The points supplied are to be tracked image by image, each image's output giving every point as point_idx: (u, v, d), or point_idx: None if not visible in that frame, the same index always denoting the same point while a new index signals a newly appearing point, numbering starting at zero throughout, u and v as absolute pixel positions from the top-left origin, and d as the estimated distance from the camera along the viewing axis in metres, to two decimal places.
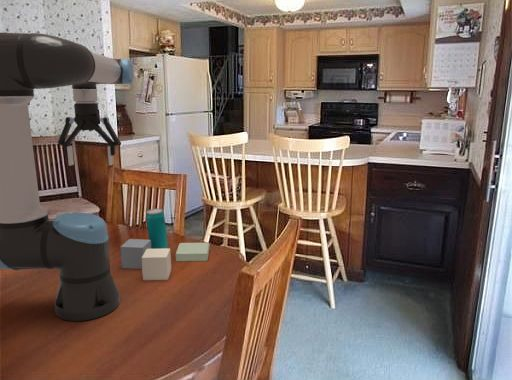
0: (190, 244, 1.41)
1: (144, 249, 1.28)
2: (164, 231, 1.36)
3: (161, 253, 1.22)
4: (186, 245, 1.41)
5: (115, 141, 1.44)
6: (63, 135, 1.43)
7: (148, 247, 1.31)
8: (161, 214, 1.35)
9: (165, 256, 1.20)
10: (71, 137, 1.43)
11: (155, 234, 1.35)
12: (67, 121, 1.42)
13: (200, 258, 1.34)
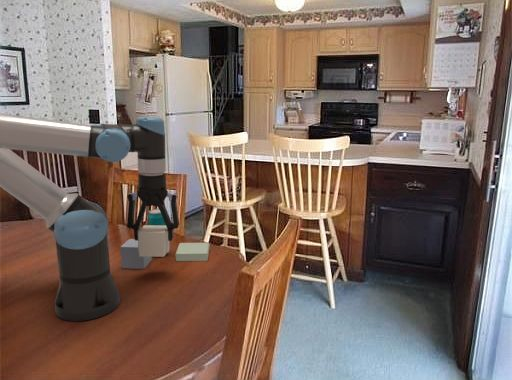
0: (190, 244, 1.41)
1: None
2: None
3: (158, 230, 1.20)
4: (186, 245, 1.41)
5: (175, 224, 1.19)
6: (130, 216, 1.18)
7: None
8: None
9: (162, 232, 1.18)
10: (140, 217, 1.18)
11: None
12: (130, 199, 1.17)
13: (200, 258, 1.34)
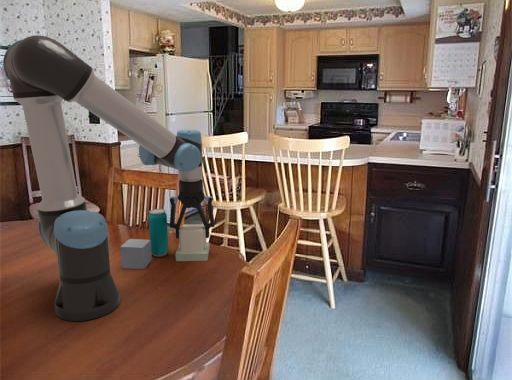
0: None
1: (144, 249, 1.28)
2: (166, 231, 1.37)
3: (197, 228, 1.36)
4: None
5: (211, 224, 1.36)
6: (172, 217, 1.34)
7: (148, 247, 1.31)
8: (164, 214, 1.35)
9: (201, 230, 1.34)
10: (180, 218, 1.35)
11: (157, 234, 1.35)
12: (172, 202, 1.33)
13: (200, 258, 1.34)
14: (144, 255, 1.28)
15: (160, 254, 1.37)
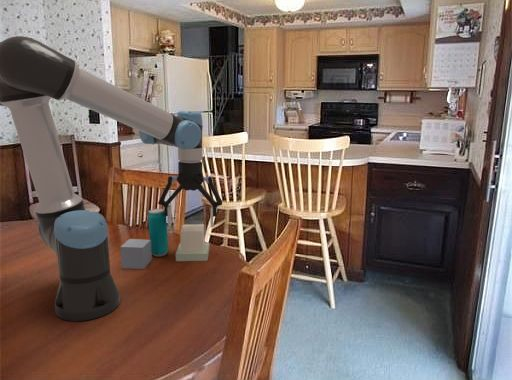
0: None
1: (144, 249, 1.28)
2: (166, 231, 1.37)
3: (197, 228, 1.36)
4: None
5: (219, 202, 1.34)
6: (164, 195, 1.33)
7: (148, 247, 1.31)
8: (163, 214, 1.36)
9: (201, 230, 1.34)
10: (172, 197, 1.33)
11: (157, 233, 1.35)
12: (170, 180, 1.32)
13: (200, 258, 1.34)
14: (144, 255, 1.28)
15: (160, 254, 1.37)
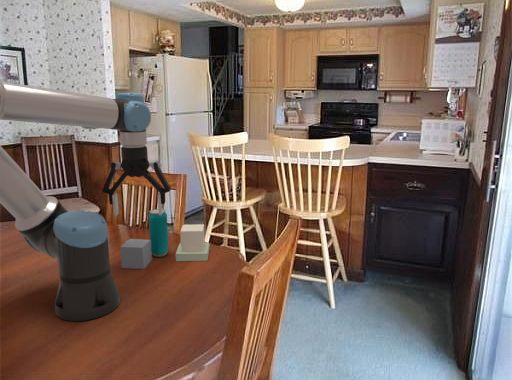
0: None
1: (144, 249, 1.28)
2: (166, 231, 1.37)
3: (197, 228, 1.36)
4: None
5: (166, 188, 1.27)
6: (108, 182, 1.26)
7: (148, 247, 1.31)
8: (164, 214, 1.36)
9: (201, 230, 1.34)
10: (117, 184, 1.26)
11: (157, 233, 1.35)
12: (113, 167, 1.25)
13: (200, 258, 1.34)
14: (144, 255, 1.28)
15: (160, 254, 1.37)
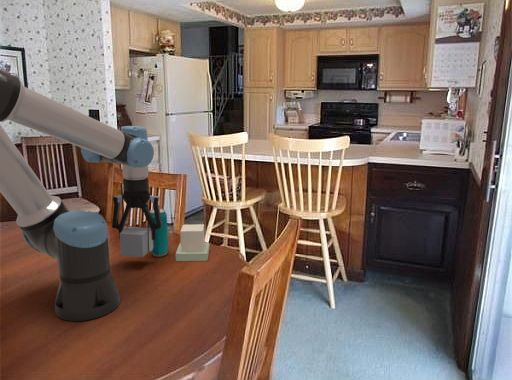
0: None
1: (143, 236, 1.26)
2: (166, 231, 1.37)
3: (197, 228, 1.36)
4: None
5: (158, 225, 1.29)
6: (115, 217, 1.28)
7: (147, 235, 1.30)
8: (164, 214, 1.36)
9: (201, 230, 1.34)
10: (124, 218, 1.28)
11: (157, 233, 1.35)
12: (115, 201, 1.27)
13: (200, 258, 1.34)
14: (143, 242, 1.26)
15: (160, 254, 1.37)
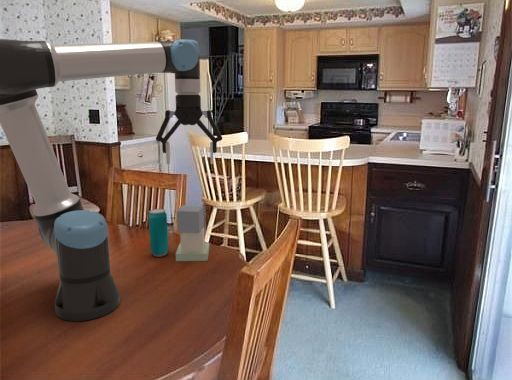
0: None
1: (199, 213, 1.31)
2: (166, 231, 1.37)
3: None
4: None
5: (219, 137, 1.29)
6: (162, 130, 1.28)
7: (202, 212, 1.35)
8: (164, 214, 1.36)
9: (201, 230, 1.34)
10: (171, 132, 1.28)
11: (158, 233, 1.35)
12: (167, 115, 1.27)
13: (200, 258, 1.34)
14: (199, 219, 1.31)
15: (160, 254, 1.37)
